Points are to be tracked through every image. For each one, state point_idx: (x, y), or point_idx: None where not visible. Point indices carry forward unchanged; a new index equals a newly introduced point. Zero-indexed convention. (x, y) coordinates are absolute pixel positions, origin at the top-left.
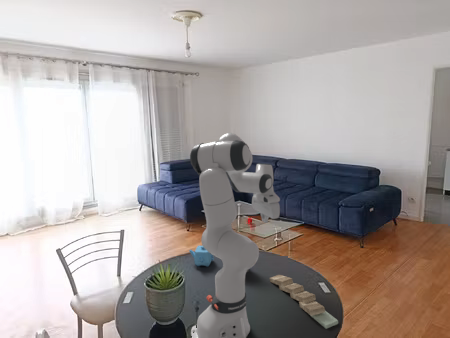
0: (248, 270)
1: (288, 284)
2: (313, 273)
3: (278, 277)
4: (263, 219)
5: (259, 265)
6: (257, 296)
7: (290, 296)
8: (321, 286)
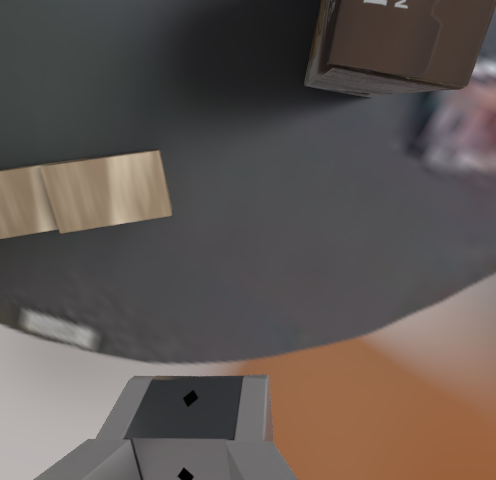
0: (304, 83)
1: None
2: (163, 357)
3: (127, 189)
4: (176, 424)
5: (342, 182)
6: (52, 14)
7: None
8: (65, 324)
